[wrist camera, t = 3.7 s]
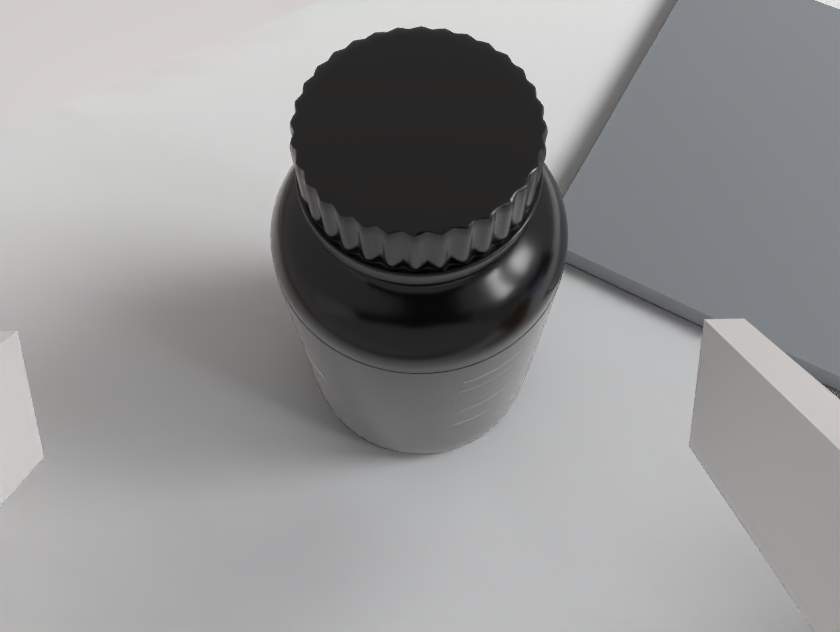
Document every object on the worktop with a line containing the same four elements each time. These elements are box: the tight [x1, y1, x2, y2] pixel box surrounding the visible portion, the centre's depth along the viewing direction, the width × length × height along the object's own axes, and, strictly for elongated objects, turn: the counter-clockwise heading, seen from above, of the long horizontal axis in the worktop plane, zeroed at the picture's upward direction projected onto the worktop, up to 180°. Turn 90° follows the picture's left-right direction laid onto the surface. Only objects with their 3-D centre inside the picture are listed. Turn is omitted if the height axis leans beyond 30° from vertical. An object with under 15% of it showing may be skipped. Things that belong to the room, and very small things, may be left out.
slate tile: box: [563, 0, 840, 391], centre depth 27 cm, size 15×15×1 cm
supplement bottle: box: [270, 26, 568, 454], centre depth 19 cm, size 7×7×12 cm
